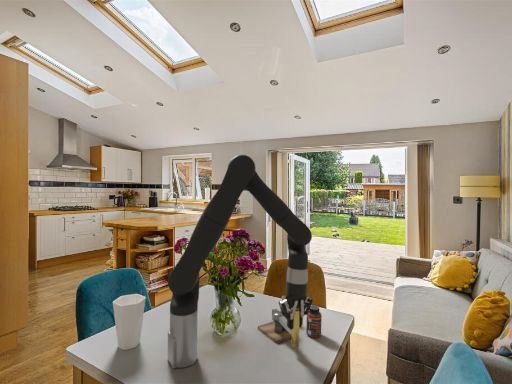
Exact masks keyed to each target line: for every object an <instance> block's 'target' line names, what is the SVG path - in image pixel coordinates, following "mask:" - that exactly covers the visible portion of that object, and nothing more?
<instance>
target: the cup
mask: <svg viewBox="0 0 512 384" xmlns="http://www.w3.org/2000/svg"><path fill="white" fill-rule="evenodd" d="M146 299H147V297H146V296H145V295H141V294H139V293H133V294H126V295H125V294H124V295H121V296H119V297H117V298H116V299H115V300H113V301H112V306H113V308H112V309H113V315H114V316H113V317H114V324H115V332H116V338H117V341H116V342H117V345H118V348H119V349H120V350H122V351H126V350H130V349H131V350H132V349H135V348H136V347H137V346H138V345H140V343H141V336H142V335H141V334H142V329H143V328H142V327H143V321H144V312H145V306H146Z"/></svg>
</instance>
